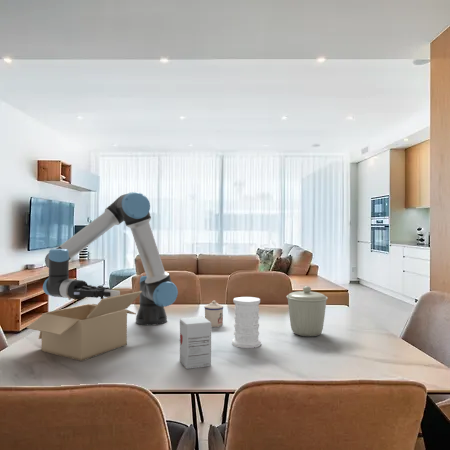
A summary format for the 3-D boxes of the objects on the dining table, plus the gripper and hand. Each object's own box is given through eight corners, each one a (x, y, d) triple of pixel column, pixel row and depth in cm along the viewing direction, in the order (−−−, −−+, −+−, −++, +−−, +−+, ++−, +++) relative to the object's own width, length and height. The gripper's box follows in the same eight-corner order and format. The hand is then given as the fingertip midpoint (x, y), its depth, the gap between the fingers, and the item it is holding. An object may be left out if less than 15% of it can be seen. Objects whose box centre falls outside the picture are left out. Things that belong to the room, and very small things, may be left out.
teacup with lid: (221, 327, 179) (221, 302, 179) (202, 327, 180) (202, 302, 181) (225, 321, 191) (225, 298, 191) (207, 321, 192) (207, 297, 192)
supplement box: (178, 360, 134) (179, 317, 135) (203, 357, 138) (203, 316, 138) (186, 369, 126) (186, 324, 126) (211, 366, 129) (211, 321, 129)
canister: (296, 326, 183) (296, 282, 183) (333, 332, 172) (333, 285, 172) (279, 334, 168) (279, 286, 168) (318, 342, 158) (318, 290, 158)
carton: (16, 354, 139) (16, 315, 140) (95, 331, 171) (95, 299, 172) (63, 367, 127) (63, 324, 127) (139, 340, 159) (139, 305, 159)
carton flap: (86, 317, 134) (102, 298, 130) (126, 307, 151) (141, 290, 147) (87, 318, 134) (102, 299, 130) (127, 308, 151) (142, 291, 147)
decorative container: (256, 349, 147) (256, 302, 148) (228, 346, 151) (228, 300, 152) (264, 341, 158) (264, 297, 158) (237, 338, 162) (237, 295, 162)
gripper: (87, 296, 157) (131, 302, 145) (60, 301, 146) (104, 308, 134) (88, 278, 157) (131, 282, 146) (60, 281, 146) (105, 286, 134)
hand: (118, 294), depth 140 cm, fingers closed
